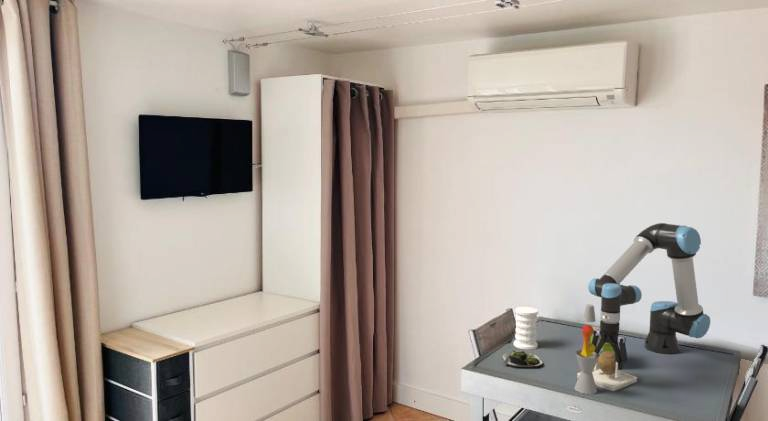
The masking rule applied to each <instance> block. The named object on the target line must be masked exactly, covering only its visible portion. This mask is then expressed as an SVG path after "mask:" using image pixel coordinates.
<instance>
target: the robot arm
mask: <svg viewBox="0 0 768 421" xmlns="http://www.w3.org/2000/svg"><path fill="white" fill-rule="evenodd" d="M701 240H702V239H701V236H700V233H699V232H698V231H697V229H696V228H693V227H691V226H687V225H680V224H677V225H676V224H671V223H663V222H660V223H655V224H652V225H649V226H648V227H646V228H645V229H643V230H642V231H640V232H639V233H638V234H637V235H636V236H635V237H634V239H633V243H632V244H631V245H630V246H629V247H628V248H627V249H626V250H625V252H623V253H622V254H621V256H619V258H618V259H617V260H616V261H615V262H614V263H613V264H612V265H611V266H610V267H609V268H608V269H607V270H606V272H605V273H604V274H603V275H602V276H600V278H592V279H590V281H589V282H588V287H587V288H588V292H589V293H590V294H591V295H593V296H595V297H598V298H601V303H600V306H601V307H600V320H599V323H600V324H599V327H600V331H599V330H595V331H594V332H593V339H592V343H591V344H593V345H594V346H595V351H594V352H596V353H599V352H600V350H601V349H602V347H603V345H604V344H605V343H609V344H611V346H612V347H613V350H614V353H615V355H616V358H617V361H618V362H616V368H615V378H618V377H620V375H621V372H622V371H623V368H624V367H623V366H624V363H626V362H628V360H629V359H628V353H627V346H626V339H627V338H626V337H622V336H620V332H619V331H620V321H621V320H620V319H621V306H626V305H633V304H636V303H639V302H640V301H641V299H642V291H641V289H640V288H639V286H637V285H630V284H629V285H624V284H621V283H622V282H623V281H624V279H626V277H627V276H628V275H629V274H630V273H631V272H632V271H633V270H634V269H635V268H636V267H637V266H638V264H639V263H641V261H642V260H643V259H644V258H645V257H646V256H647V255H648V254H651V253H653V251H655V250H657V249H660V250H661V249H663V250H666V256H667V257H668V258H669V259H670V260H671V265H672V266H671V267H672V273H673V280H674V287H675V289H674V290H675V295H676V301H667V300H661V301H654V302H653V303H651V305H650V311H649V312H650V316H649V329H648V330H649V331H648V334H647V336H646V338H645V340H644V348H645V349H647V350H648V351H650V352H654V353H658V354H659V353H660V354H665V355H666V354H667V355H672V354H677V353H678V352H680V345H679V341H678V338H677V334H681V335H684V336H688V337H689V338H695V339H701V338H703V337H705V336H706V335H707V333H708V331H709V329H710V325H711V317H710V315H708V314H706V313H705V314H704V308H703V305H701V304H699V297H698V289H697V288H698V287H697V281H696V273H695V267H694V265H695V264H694V257H695V256H696V255H697V253H698V251H699V250H700V248H701V245H702V242H701ZM599 335H600V336H601V339H600V341H599V343H598V345H597V342H598V338H599ZM617 340H618V341H617ZM614 343H615V344H614ZM596 346H597V347H596ZM599 356H600V354H599ZM599 369H600V368H599V367H598V364H597V363H596V365H595V369H594V370H599Z"/></svg>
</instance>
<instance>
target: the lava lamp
mask: <svg viewBox="0 0 768 421" xmlns="http://www.w3.org/2000/svg"><path fill="white" fill-rule="evenodd" d="M583 311H584V312H583V316H582V321H584V322H587V323H594V322H595V323H596V313H595V306H594V305H593V304H588V303H587V304H585V307H584V310H583ZM591 326H592V325H589V324H586V325H584V326H583V327H582V329H581V332H582V337H583V343H582V345H583V346H582V349H580V350H577V351H576V352H575V356H576V360H577V362H578V366H579V369H580V372H581V373H580V372H579V373H580V375H579V378H577V381H576V383H575V385H574V390H575V391H576V392H577V391H578V393H581V394H583V393H585V395H595V394H597V392H598V388H597V385H595V381H594V377H593V374H592V372H593V370H594V367H595V365H596V363H597V361H598V358H599V354H598V353H596V352H594V351H595V346H594V345H593V344H589V340H590V338H591V336H592V334H593V332H594V330H593V328H592V327H591Z"/></svg>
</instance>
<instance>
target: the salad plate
mask: <svg viewBox="0 0 768 421" xmlns="http://www.w3.org/2000/svg"><path fill="white" fill-rule="evenodd" d="M502 358H503V364H505V365H507V366H508V367H510V368H513V369H519V370H520V369H521V370H525V369H526V370H529V369H530V370H531V369H532V370H533V369H538V368H541V367H542V366H543V365H544V364H543V361H542V360H541V359H540V357H538V356H537V355H536V354H534V353H529V352H525V351H523V350H521V351H520V350H518V349H516V350H511V352H510V353H505V354H503V355H502Z"/></svg>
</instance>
